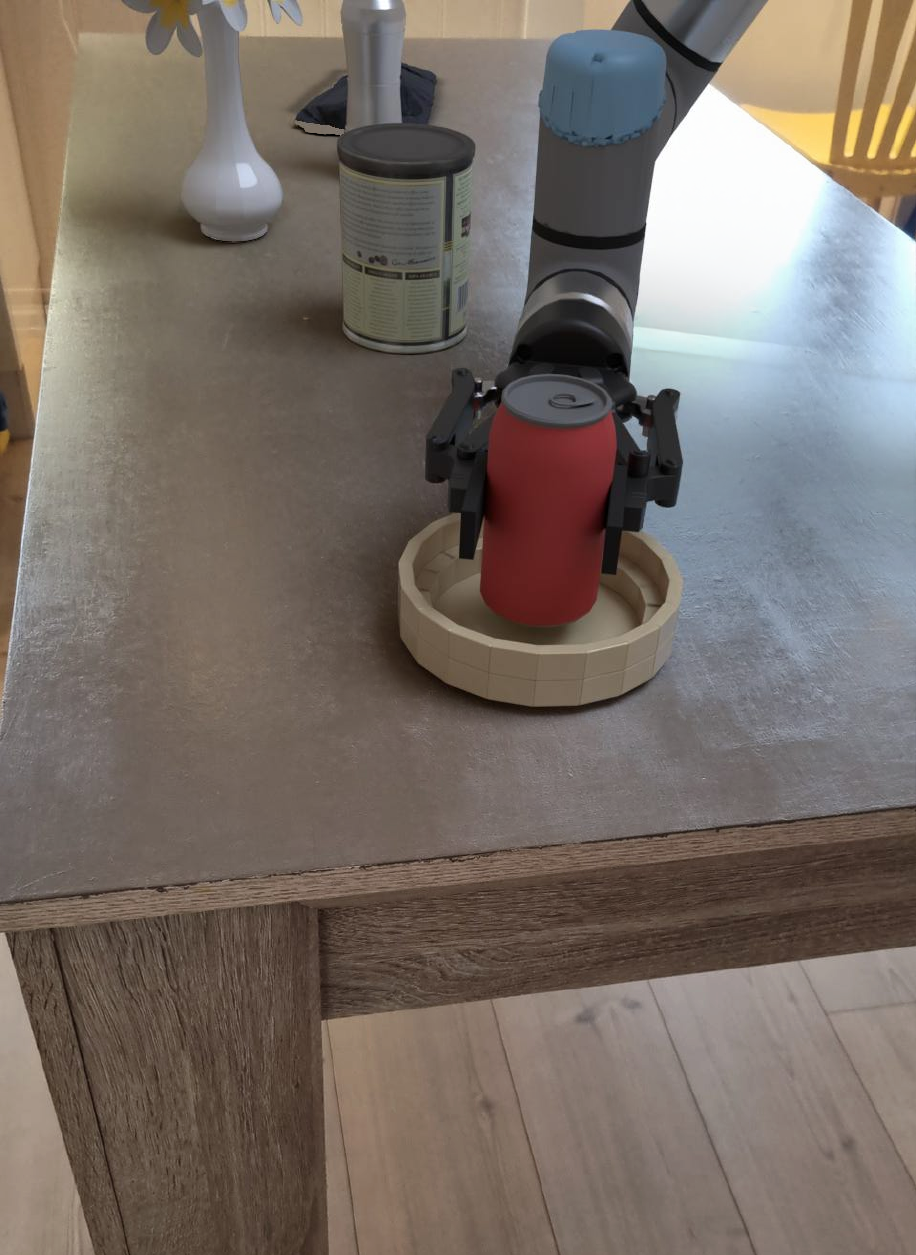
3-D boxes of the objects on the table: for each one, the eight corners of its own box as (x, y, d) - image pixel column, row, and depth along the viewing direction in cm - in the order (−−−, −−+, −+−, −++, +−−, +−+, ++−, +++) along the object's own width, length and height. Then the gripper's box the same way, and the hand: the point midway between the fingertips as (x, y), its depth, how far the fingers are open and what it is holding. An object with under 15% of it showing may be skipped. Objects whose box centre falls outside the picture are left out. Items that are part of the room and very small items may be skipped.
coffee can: (334, 307, 109) (330, 122, 100) (455, 303, 111) (462, 121, 101) (348, 357, 102) (344, 163, 92) (478, 353, 103) (487, 161, 94)
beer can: (604, 633, 71) (633, 426, 63) (484, 634, 70) (498, 426, 62) (586, 568, 76) (610, 369, 68) (473, 569, 75) (485, 368, 67)
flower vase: (134, 262, 115) (91, -78, 98) (200, 197, 129) (173, -111, 112) (277, 277, 114) (259, -65, 97) (329, 210, 127) (320, -100, 110)
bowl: (683, 581, 79) (694, 523, 77) (656, 737, 68) (667, 674, 65) (434, 544, 81) (435, 486, 79) (366, 688, 70) (365, 626, 67)
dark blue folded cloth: (455, 95, 161) (457, 52, 158) (420, 145, 145) (421, 98, 141) (334, 85, 162) (333, 41, 159) (287, 133, 146) (284, 86, 143)
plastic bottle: (357, 189, 132) (353, -44, 119) (334, 169, 137) (328, -57, 124) (415, 183, 135) (419, -46, 121) (391, 164, 139) (391, -59, 126)
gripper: (716, 428, 84) (722, 627, 67) (417, 399, 85) (348, 587, 68) (738, 312, 79) (750, 495, 62) (419, 283, 80) (345, 454, 63)
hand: (539, 543), depth 65 cm, fingers closed on beer can, 6 cm apart
